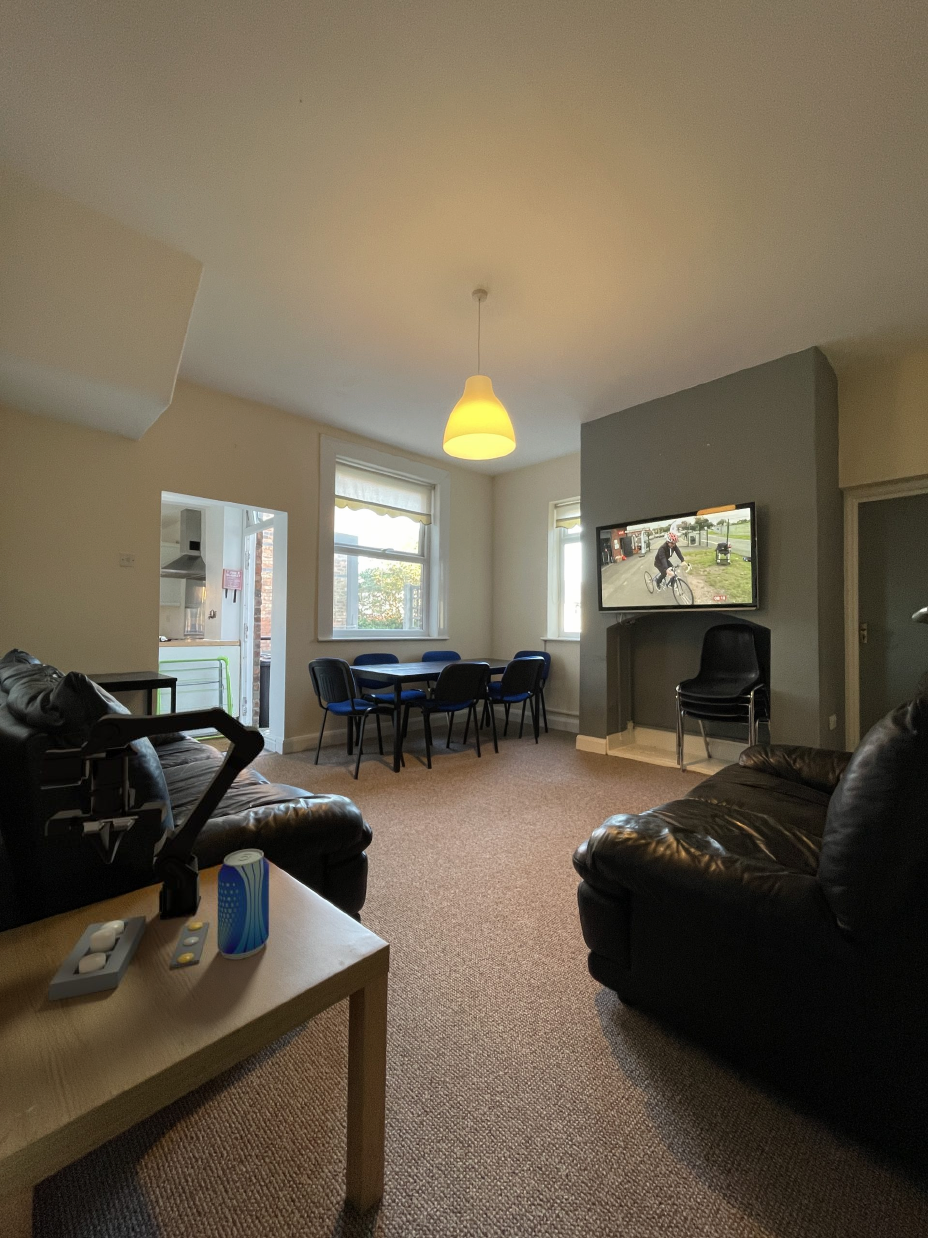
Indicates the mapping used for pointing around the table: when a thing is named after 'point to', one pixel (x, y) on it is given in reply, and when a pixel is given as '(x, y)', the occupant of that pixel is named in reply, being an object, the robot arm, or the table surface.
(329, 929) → the table surface
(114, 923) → the button
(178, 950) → the pattern tile
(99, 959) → the button
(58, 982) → the button board
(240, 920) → the beer can
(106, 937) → the button mid
